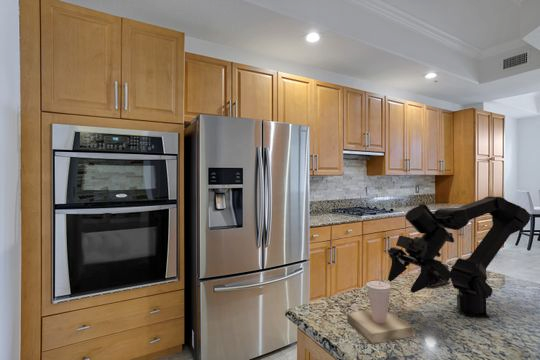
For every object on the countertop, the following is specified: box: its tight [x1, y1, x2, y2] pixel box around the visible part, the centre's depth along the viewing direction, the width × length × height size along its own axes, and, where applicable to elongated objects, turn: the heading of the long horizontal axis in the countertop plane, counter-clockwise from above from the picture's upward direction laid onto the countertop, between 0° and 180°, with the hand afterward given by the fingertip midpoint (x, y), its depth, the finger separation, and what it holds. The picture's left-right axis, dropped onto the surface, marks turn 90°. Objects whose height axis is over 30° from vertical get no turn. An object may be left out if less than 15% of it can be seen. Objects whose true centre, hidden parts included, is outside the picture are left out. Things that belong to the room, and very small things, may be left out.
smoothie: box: [366, 268, 392, 323], centre depth 78 cm, size 6×6×14 cm
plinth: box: [346, 309, 413, 345], centre depth 78 cm, size 12×12×2 cm
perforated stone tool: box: [430, 263, 450, 287], centre depth 111 cm, size 15×5×7 cm, turn 119°
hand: (399, 285), depth 80 cm, fingers open, 9 cm apart
